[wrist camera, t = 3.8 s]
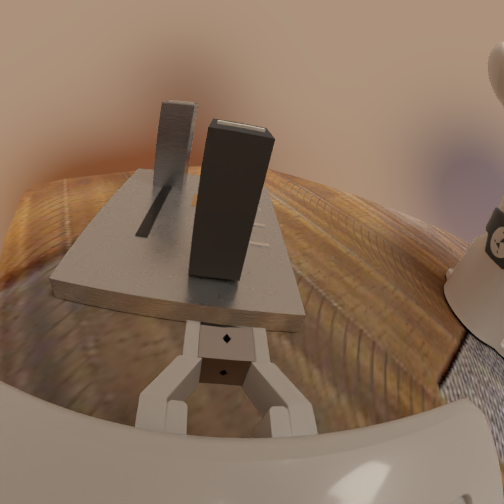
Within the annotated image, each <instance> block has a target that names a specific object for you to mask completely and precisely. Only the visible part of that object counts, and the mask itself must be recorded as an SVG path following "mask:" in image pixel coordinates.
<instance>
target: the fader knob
mask: <svg viewBox="0 0 504 504" xmlns="http://www.w3.org/2000/svg"><path fill="white" fill-rule="evenodd" d="M274 141H275V139H274V137H273V136H272V135H271V133H270V132H269V131H268V130H267V129H266V128H263V127H258V126H253V125H248V124H243V123H237V122H231V121H225V120H219V119H213V120H212V122H211V124H210V126H209V127H208V133H207V138H206V144H205V150H204V157H203V162H202V168H201V175H200V181H199V188H198V195H197V202H196V209H195V217H194V225H193V233H192V242H191V251H190V261H189V271H188V274H191V275H198V276H206V277H213V278H221V279H228V280H236V281H240V277H241V273H242V269H243V265H244V261H245V257H246V253H247V249H248V245H249V241H250V237H251V233H252V229H253V225H254V221H255V217H256V213H257V209H258V205H259V201H260V197H261V193H262V189H263V185H264V181H265V177H266V173H267V169H268V165H269V161H270V156H271V152H272V149H273V145H274Z"/></svg>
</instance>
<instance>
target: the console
mask: <svg viewBox="0 0 504 504" xmlns="http://www.w3.org/2000/svg"><path fill="white" fill-rule="evenodd" d="M198 106H199V104H198V103H193V102H184V101H174V100H169V101H166V102H162V106H161V113H160V120H159V127H158V135H157V144H156V153H155V164H154V170H148V169H137V170H136V171H135V172H134V174H133V175H132V176H131V177H130V178H129V179H128V180H127V181H126V182H125V183H124V184H123V185H122V186H121V187H120V188H119V189H118V191H117V192H116V193H115V194H114V195H113V196H112V197H111V198H110V200H109V201H108V202H107V203H106V204H105V205H104V206H103V208H102V209H101V210H100V211H99V212H98V213H97V215H96V216H95V217H94V218H93V220H92V221H91V222H90V223H89V224H88V226H87V227H86V228H85V229H84V231H83V232H82V233H81V235H80V236H79V237H78V238H77V240H76V241H75V242H74V244H73V245H72V246H71V248H70V249H69V250H68V252H67V253H66V255H65V256H64V257H63V259H62V260H61V262H60V263H59V265H58V266H57V267H56V269H55V270H54V272H53V273H52V275H51V276H50V278H49V279H50V282H51V286H52V289H53V292H54V295H55V297H57V298H61V299H65V300H70V301H74V302H78V303H83V304H87V305H92V306H97V307H102V308H106V309H112V310H117V311H122V312H127V313H133V314H139V315H145V316H151V317H157V318H163V319H170V320H177V321H184V322H187V320H191V321H198V322H206V323H213V324H220V325H234V326H246V327H256V328H265V330H272V331H287V332H298V330H299V328H300V326H301V324H302V322H303V320H304V318H305V316H306V314H305V310H304V307H303V303H302V300H301V296H300V293H299V289H298V286H297V282H296V279H295V276H294V272H293V269H292V266H291V262H290V259H289V256H288V252H287V249H286V246H285V242H284V239H283V236H282V233H281V230H280V226H279V223H278V220H277V217H276V214H275V211H274V207H273V204H272V201H271V198H270V195H269V192H268V189H267V187H264V186H263V189H262V193H261V197H260V201H259V205H258V209H257V213H256V217H255V221H254V225H253V229H252V233H251V237H250V241H249V245H248V249H247V253H246V257H245V261H244V265H243V269H242V273H241V277H240V281H236V280H228V279H221V278H213V277H206V276H198V275H191V274H188V271H189V261H190V251H191V242H192V233H193V225H194V217H195V209H196V202H197V195H198V188H199V181H200V176H197V175H190V174H188V167H189V160H190V153H191V147H192V140H193V134H194V128H195V122H196V117H197V111H198Z"/></svg>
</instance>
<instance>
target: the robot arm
mask: <svg viewBox="0 0 504 504" xmlns="http://www.w3.org/2000/svg"><path fill="white" fill-rule="evenodd" d="M488 73H489V79H490V82H491V86H492V88H493V90H494V93H495V94H496V96H497V98H498V99H499V101H500V102H501V104H502V105H503V107H504V41H503V42H501V43H499V44H497V45H496V46H495V47H494V48H493V50H492V52H491V54H490V56H489V61H488ZM446 278H447V281H446V283H445V284H444V293H445V296H446V299H447V301H448V303H449V305H450V307H451V308H452V310H453V311H454V313H455V314H456V316H457V317H458V318H459V319H460V321H461V322H462V323H463V324H464V325H465V326H466V327H467V328H468V329H469V330H470V331H471V332H472V333H473V334H474V335H475V336H476V337H478V338H479V339H480V340H482V341H483V342H485V343H486V344H488V345H490V346H491V347H493V348H494V349H495V350H496V351H497V352H498V353H499V354H500V355H501V356H502V357H504V195H503V198H502V200H501V202H500V205H499V207H498V208H495V210H494V211H493V214H491V216H490V218H489V222H488V224H487V226H486V233H485V234H483V235H482V236H478V237H476V238H475V239H474V240H473V242H472V243H471V245H470V246H469V248H468V249H467V251H466V252H465V254H464V255H463V257H462V258H461V260H460V261H459V263H458V264H457V265H456V267H455V268H454V269H452V268H449V269H448V270H447V272H446ZM199 383H211V384H225V385H236V386H242V388H243V390H244V391H245V393H246V394H247V395H248V397H249V398H250V400H251V401H252V403H253V404H254V406H255V407H256V409H257V410H258V411H259V413H260V414H261V416H262V417H263V419H262V420H261V422H260V423H259V424H258V426H257V427H256V428H255V430H254V438H225V437H207V436H195V435H187V408H188V405H187V404H186V403H185V401H186V400H187V398H188V397H189V396H190V395H191V393H192V392H193V391H194V389H195V388H196V387H197V385H198V384H199ZM503 502H504V500H503V486H502V478H501V471H500V466H499V461H498V456H497V452H496V448H495V444H494V440H493V437H492V434H491V431H490V428H489V425H488V422H487V419H486V417H485V415H484V413H483V412H482V411H481V410H480V409H479V408H478V407H477V406H476V405H475V404H473V403H472V402H471V401H470V400H468V399H466V398H461V399H458V400H456V401H453V402H450V403H448V404H445V405H442V406H440V407H437V408H434V409H431V410H428V411H425V412H421V413H418V414H415V415H411V416H408V417H404V418H401V419H397V420H393V421H389V422H385V423H381V424H376V425H371V426H367V427H362V428H356V429H351V430H345V431H338V432H331V433H324V434H318V432H317V427H316V422H315V417H314V412H313V407H312V404H311V403H310V402H309V401H308V400H307V399H306V397H305V396H304V395H303V394H302V393H301V392H300V391H299V390H298V389H297V388H296V387H295V386H294V384H293V383H292V382H291V381H290V380H289V379H288V378H287V377H286V376H285V375H284V373H283V372H282V371H281V370H280V369H279V368H278V367H277V366H276V364H275V363H270V356H269V348H268V341H267V334H266V330H265V328H256V327H246V326H234V325H220V324H213V323H206V322H198V321H191V320H187V322H186V328H185V336H184V345H183V353H182V355H178V356H177V357H176V358H175V359H174V360H173V361H172V362H171V363H170V364H169V365H168V366H167V367H166V368H165V369H164V370H163V371H162V372H161V373H160V374H159V375H158V376H157V377H156V378H155V379H154V380H153V381H152V382H151V383H150V384H149V385H148V386H147V387H146V388H145V389H144V390H143V391H142V392H141V393H140V397H139V403H138V409H137V415H136V422H135V427H133V426H129V425H124V424H119V423H115V422H111V421H107V420H103V419H99V418H96V417H92V416H89V415H85V414H82V413H79V412H76V411H72V410H69V409H66V408H64V407H61V406H58V405H55V404H52V403H50V402H47V401H45V400H42V399H40V398H37V397H35V396H32V395H30V394H28V393H25V392H23V391H21V390H19V389H17V388H15V387H12V386H10V385H8V384H6V383H4V382H2V381H0V504H503Z"/></svg>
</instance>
